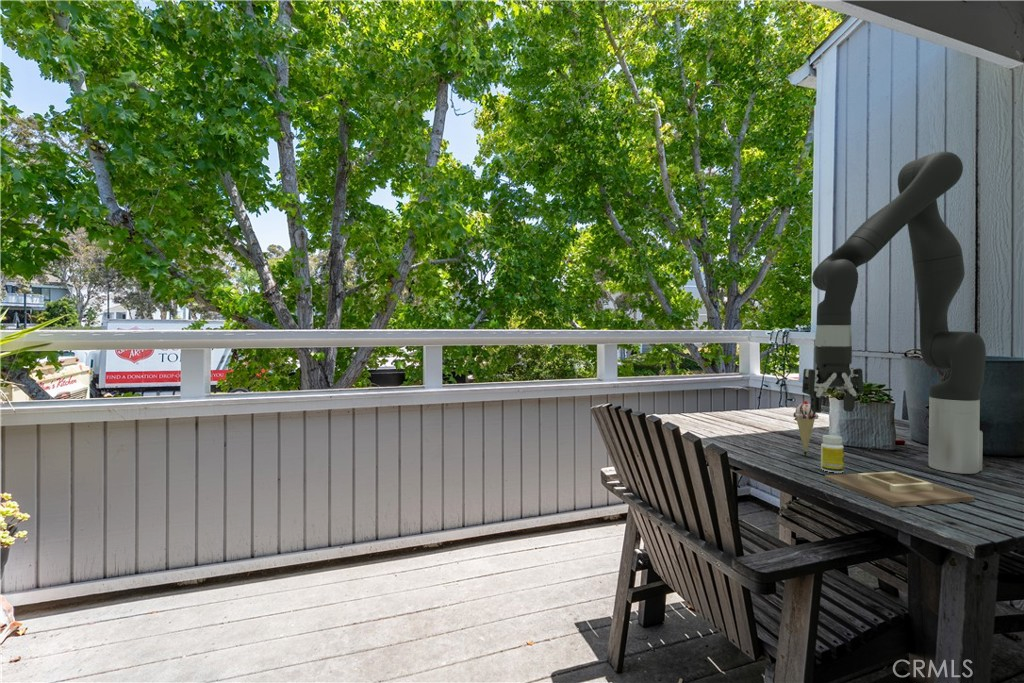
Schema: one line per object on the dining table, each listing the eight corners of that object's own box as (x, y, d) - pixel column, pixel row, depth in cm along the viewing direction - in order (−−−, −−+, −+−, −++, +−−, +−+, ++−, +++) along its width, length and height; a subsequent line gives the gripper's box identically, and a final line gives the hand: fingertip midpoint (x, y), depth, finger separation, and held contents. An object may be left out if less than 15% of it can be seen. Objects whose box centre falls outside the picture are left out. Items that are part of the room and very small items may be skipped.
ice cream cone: (822, 459, 134) (822, 402, 133) (800, 459, 134) (800, 402, 133) (809, 454, 139) (810, 399, 139) (788, 454, 139) (789, 399, 139)
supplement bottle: (847, 474, 120) (847, 438, 120) (825, 473, 121) (825, 438, 121) (838, 468, 125) (838, 434, 125) (817, 467, 126) (817, 434, 126)
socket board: (894, 475, 119) (894, 464, 119) (974, 501, 101) (974, 489, 101) (824, 479, 116) (824, 468, 116) (894, 507, 98) (894, 494, 98)
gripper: (847, 343, 127) (846, 408, 127) (795, 344, 125) (794, 410, 125) (872, 344, 119) (871, 413, 120) (818, 345, 117) (817, 415, 118)
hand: (832, 411), depth 123 cm, fingers open, 8 cm apart
